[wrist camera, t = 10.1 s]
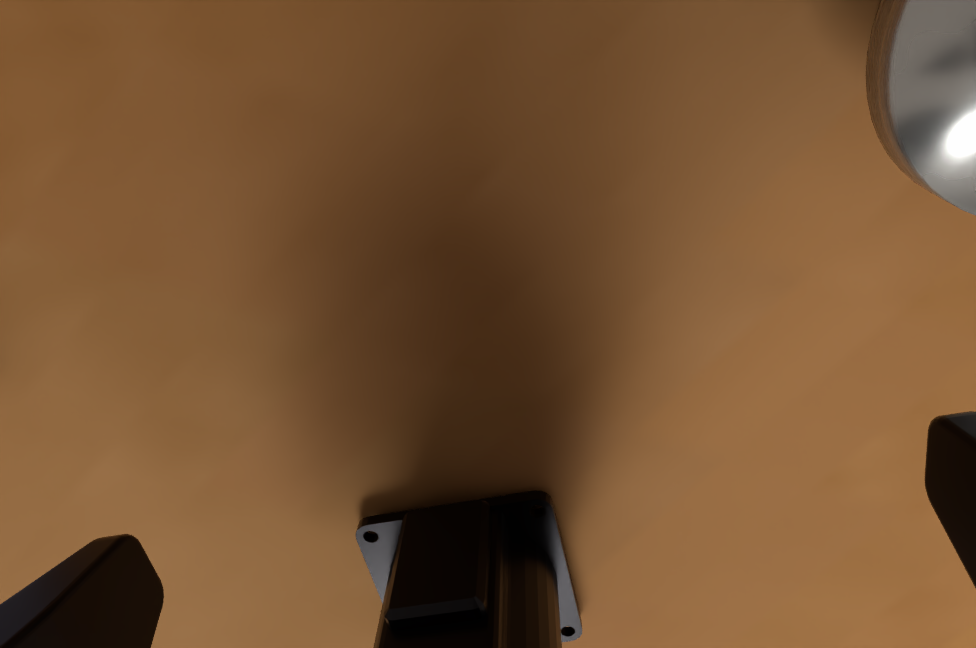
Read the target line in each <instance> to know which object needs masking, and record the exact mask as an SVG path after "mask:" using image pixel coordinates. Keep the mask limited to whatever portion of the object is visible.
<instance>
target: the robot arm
mask: <svg viewBox="0 0 976 648" xmlns="http://www.w3.org/2000/svg"><path fill="white" fill-rule="evenodd" d="M925 487H926V491H927V495H928V498H929V501H930V503H931V505H932V507H933V509H934V511H935V512H936V514H937V516H938V518H939V520H940V522H941V524H942V526H943V527H944V529H945V531H946V533H947V535H948V537H949V539H950V541H951V543H952V544H953V546H954V548H955V550H956V552H957V554H958V556H959V558H960V560H961V561H962V563H963V565H964V567H965V569H966V571H967V573H968V575H969V577H970V578H971V580H972V582H973V584H974V586H975V588H976V412H973V411H970V412H963V413H956V414H949V415H942V416H938V417H936V418H934V419H933V420H932V421H931V423H930V425H929V429H928V438H927V452H926V467H925ZM535 505H540V506H542V508H540V509H533V508H531V507H532V506H535ZM367 531H374V532H376V533H377V534H371V533H369V532H367ZM356 540H357V542H358V544H359V547H360V549H361V552H362V554H363V557H364V559H365V561H366V564H367V566H368V569H369V571H370V574H371V576H372V579H373V581H374V583H375V586H376V588H377V591H378V593H379V596H380V598H381V601H382V603H383V605H382V610H381V614H380V619H379V624H378V629H377V634H376V638H375V643H374V648H562V642H568V641H573V640H576V639H577V638H579V637H580V636H581V634H582V623H581V617H580V613H579V609H578V605H577V601H576V597H575V592H574V588H573V584H572V580H571V576H570V572H569V568H568V563H567V559H566V555H565V551H564V547H563V543H562V539H561V534H560V530H559V526H558V522H557V518H556V514H555V510H554V506H553V501H552V499H551V497H550V496H549V495H548V494H547V493H545V492H542V491H530V492H524V493H517V494H511V495H505V496H498V497H492V498H485V499H479V500H473V501H466V502H460V503H453V504H447V505H440V506H434V507H428V508H421V509H415V510H408V511H402V512H396V513H389V514H383V515H376V516H370V517H366V518H363V519H362V520H361V521H360V522H359V525H358V528H357V531H356ZM163 598H164V593H163V586H162V583H161V580H160V578H159V577H158V575H157V573H156V571H155V569H154V567H153V566H152V564H151V562H150V560H149V558H148V556H147V554H146V553H145V551H144V549H143V547H142V545H141V543H140V542H139V540H138V539H136V538H135V537H134V536H132V535H128V534H122V535H115V536H108V537H102V538H98V539H96V540H93V541H92V542H90V543H89V544H87V545H86V546H84V547H83V548H82V549H80V550H79V551H77V552H76V553H74V554H73V555H71V556H70V557H68V558H67V559H66V560H64V561H63V562H61V563H60V564H58V565H57V566H55V567H54V568H53V569H51V570H50V571H48V572H47V573H45V574H44V575H42V576H41V577H39V578H38V579H37V580H35V581H34V582H32V583H31V584H29V585H28V586H26V587H25V588H24V589H22V590H21V591H19V592H18V593H16V594H15V595H13V596H12V597H11V598H9V599H8V600H6V601H5V602H3V603H2V604H0V648H151V644H152V641H153V637H154V634H155V630H156V627H157V623H158V620H159V616H160V613H161V609H162V606H163ZM566 626H570V627H566Z"/></svg>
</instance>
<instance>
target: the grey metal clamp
mask: <svg viewBox="0 0 976 648" xmlns="http://www.w3.org/2000/svg"><path fill="white" fill-rule="evenodd" d="M866 88H867V100H868V105H869V110H870V115H871V119H872V122H873V125H874V127H875V130H876V133H877V135H878V138H879V140H880V142H881V143H882V145H883V147H884V149H885V150H886V152H887V154H888V155H889V157H890V158H891V159H892V160H893V162H894V163H895V164H896V165H897V166H898V168H899V169H900V170H901V171H902V172H903V173H904V174H906V175H907V176H908V177H909V178H910V179H911V180H913V181H914V182H915V183H917V184H918V185H920V186H921V187H923V188H925V189H926V190H928V191H929V192H931V193H933V194H935V195H937V196H938V197H940V198H942V199H944V200H945V201H947V202H949V203H951V204H953V205H954V206H956V207H958V208H960V209H962V210H964V211H966V212H969V213H971V214H973V215H976V0H881V2H880V5H879V8H878V12H877V15H876V18H875V21H874V24H873V27H872V32H871V37H870V42H869V47H868V52H867V65H866Z"/></svg>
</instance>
